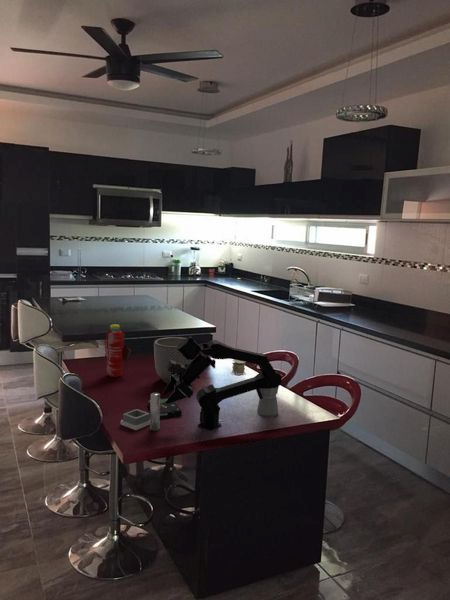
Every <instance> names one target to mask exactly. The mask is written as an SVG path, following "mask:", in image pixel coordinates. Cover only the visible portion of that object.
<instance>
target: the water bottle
mask: <svg viewBox="0 0 450 600" xmlns="http://www.w3.org/2000/svg"><path fill="white" fill-rule="evenodd" d="M105 337H106V338H105V341H104V352H105V354H104V358H106V374H107V375H108V377H110V378H119V377H120V376H122V374H123V368H124V367H123V363H124V362H128V359H129V357H130V354H131V351H132V349H131V348H129V347H128V346H126V344H124V342H125V333H124V332H123V331H122V330H121V329H120V324H116V323H115V324H113V323H112V324H110V325H109V330H108V331H107V332H106V333H105Z"/></svg>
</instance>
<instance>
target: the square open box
mask: <svg viewBox="0 0 450 600" xmlns="http://www.w3.org/2000/svg"><path fill="white" fill-rule="evenodd" d="M120 425H121V426H123V427H126V428H129V429H132V430H134V431H138V430H141V429H142V428H146V427H147V426H150V412H147V411H144V410H141V409H138V408H136V409H132V410H130V411H127V412H125V413H122V419H121V420H120Z"/></svg>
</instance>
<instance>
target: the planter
mask: <svg viewBox="0 0 450 600" xmlns="http://www.w3.org/2000/svg"><path fill="white" fill-rule="evenodd" d="M186 338H187V337H180V336H179V337H178V336H177V337H176V336H172V337H171V336H170V337H161V338H158V339H155V340H154V342H153V352H154V353H153V354H154V355H153V357H154V367H155V371H156V374H157V375H158V377H159V378H161V379H162V381H163V383H165V384H168V383H169V381H170V374H171V372H170V371H168V370H167V368H166V367H167V365H168V363H169V361H170V360H173V361H175V362H177V363H180V364H182V365H185V364H186V363H188V364H189V363H190V362H191V361H192V360H190V359H189V360H187V359H186V358H185V357H184V356H183V355H182V354H181V353H180V352H179V351H178V350H177V349H176V348H177V346H178V345H179V343H180V342H181V341H183V340H185V339H186ZM194 341H195V342H196V340H194ZM196 343H197V342H196Z"/></svg>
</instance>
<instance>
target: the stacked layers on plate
mask: <svg viewBox="0 0 450 600" xmlns="http://www.w3.org/2000/svg"><path fill="white" fill-rule="evenodd" d="M245 363H246V362H244V361H239V360H235V359H232V372H236V373H238V374H243V373H245V370H246V369H245V366H246V364H245Z"/></svg>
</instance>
